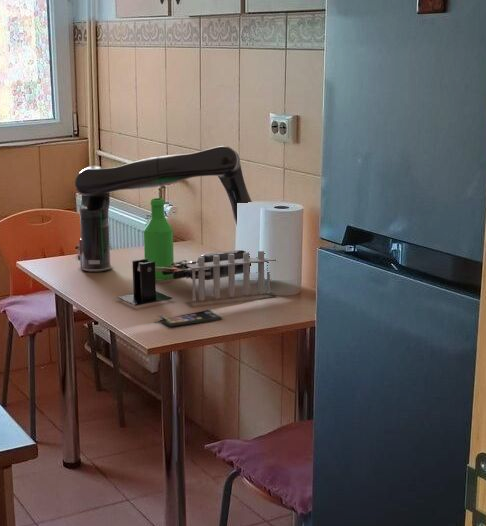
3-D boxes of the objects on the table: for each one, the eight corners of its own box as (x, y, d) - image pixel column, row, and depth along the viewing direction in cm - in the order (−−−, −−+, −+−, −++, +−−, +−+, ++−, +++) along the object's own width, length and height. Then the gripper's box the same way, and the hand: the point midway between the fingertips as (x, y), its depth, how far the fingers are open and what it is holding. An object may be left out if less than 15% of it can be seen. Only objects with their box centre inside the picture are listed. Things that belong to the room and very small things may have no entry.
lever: (172, 272, 267) (174, 264, 267) (182, 276, 263) (183, 268, 263) (134, 269, 261) (135, 261, 260) (143, 273, 256) (144, 264, 256)
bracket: (153, 294, 268) (152, 254, 266) (172, 302, 260) (171, 261, 257) (117, 301, 263) (116, 261, 260) (135, 309, 254) (134, 268, 251)
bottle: (171, 283, 279) (169, 201, 273) (143, 283, 281) (140, 201, 275) (175, 276, 288) (173, 196, 281) (147, 275, 289) (145, 196, 283)
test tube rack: (192, 307, 255) (191, 260, 251) (186, 302, 259) (185, 256, 256) (276, 297, 260) (276, 251, 257) (269, 293, 265) (270, 248, 261)
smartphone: (221, 319, 243) (221, 315, 242) (169, 328, 237) (169, 323, 237) (206, 311, 250) (206, 307, 250) (156, 320, 244) (156, 315, 244)
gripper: (203, 248, 277) (154, 255, 269) (231, 257, 264) (181, 265, 256) (203, 273, 278) (154, 280, 270) (231, 283, 266) (182, 291, 258)
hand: (168, 273), depth 263 cm, fingers closed on lever, 5 cm apart
